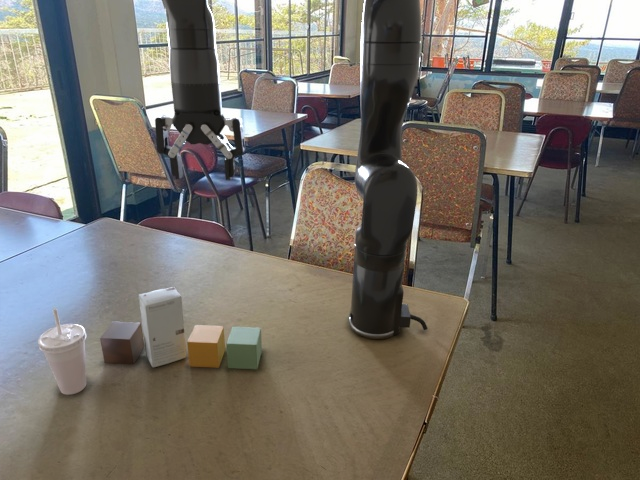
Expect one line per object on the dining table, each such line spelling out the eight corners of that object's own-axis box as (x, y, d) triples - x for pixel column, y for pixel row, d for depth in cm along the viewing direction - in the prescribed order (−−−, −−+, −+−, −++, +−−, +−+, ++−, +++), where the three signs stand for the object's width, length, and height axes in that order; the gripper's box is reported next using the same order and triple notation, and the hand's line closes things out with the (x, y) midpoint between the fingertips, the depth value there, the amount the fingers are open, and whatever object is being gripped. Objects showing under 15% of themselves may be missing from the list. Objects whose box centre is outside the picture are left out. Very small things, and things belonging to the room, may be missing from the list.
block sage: (261, 351, 85) (261, 327, 83) (257, 369, 81) (256, 344, 79) (233, 350, 85) (232, 326, 83) (227, 368, 81) (226, 343, 79)
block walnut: (144, 346, 86) (141, 322, 84) (133, 364, 81) (129, 339, 79) (116, 345, 86) (112, 321, 84) (104, 362, 81) (99, 338, 79)
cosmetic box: (152, 369, 80) (143, 306, 75) (145, 355, 83) (136, 294, 78) (188, 357, 83) (182, 296, 78) (180, 344, 86) (173, 285, 82)
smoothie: (83, 368, 80) (68, 294, 74) (103, 385, 76) (88, 309, 70) (43, 387, 75) (23, 311, 70) (62, 407, 71) (43, 328, 66)
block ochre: (225, 349, 85) (223, 326, 83) (218, 367, 81) (217, 343, 79) (197, 348, 85) (195, 324, 83) (189, 366, 81) (186, 341, 79)
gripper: (142, 81, 72) (155, 184, 79) (236, 82, 72) (242, 186, 79) (158, 76, 79) (169, 172, 86) (244, 77, 79) (249, 173, 86)
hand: (204, 178), depth 82 cm, fingers open, 8 cm apart
